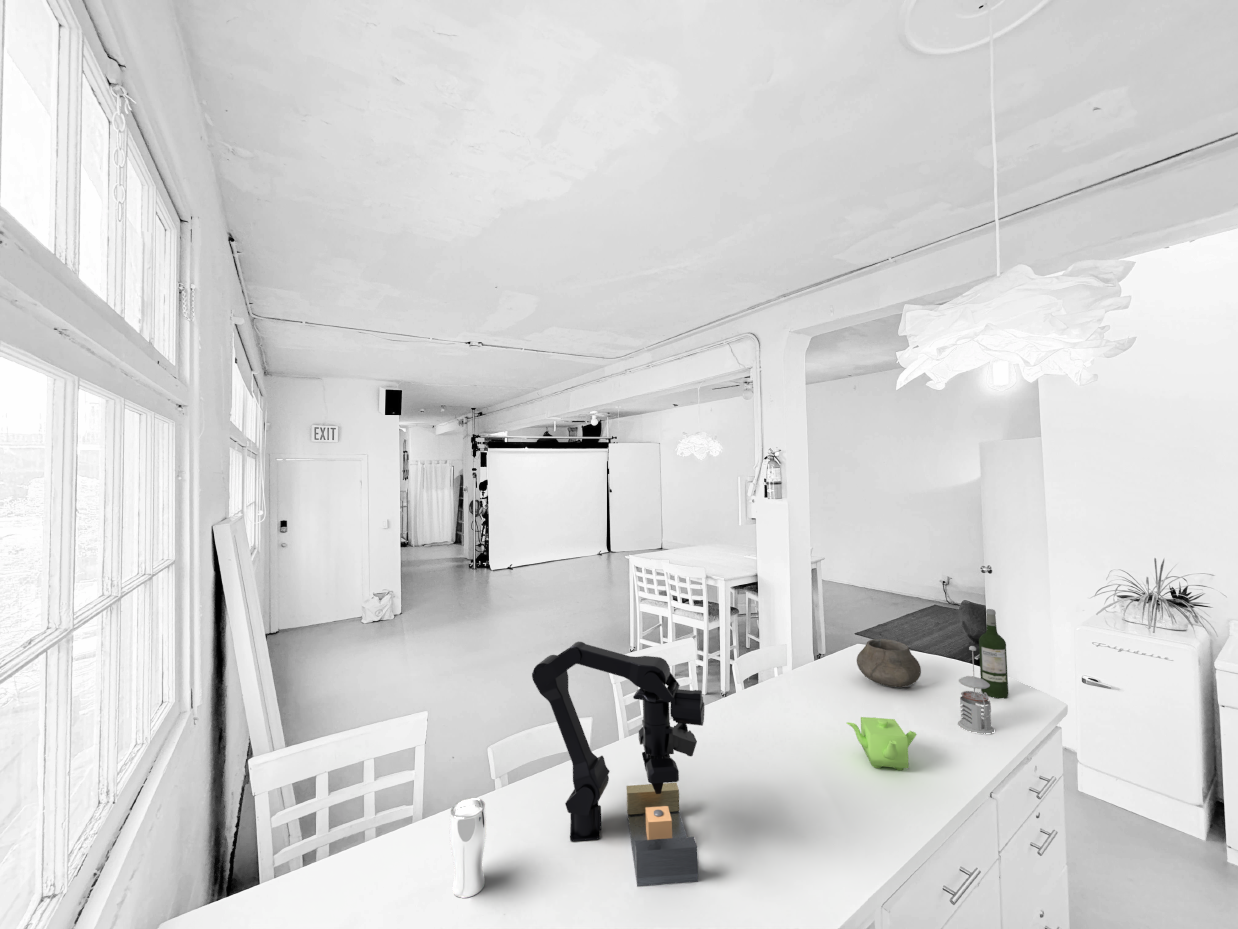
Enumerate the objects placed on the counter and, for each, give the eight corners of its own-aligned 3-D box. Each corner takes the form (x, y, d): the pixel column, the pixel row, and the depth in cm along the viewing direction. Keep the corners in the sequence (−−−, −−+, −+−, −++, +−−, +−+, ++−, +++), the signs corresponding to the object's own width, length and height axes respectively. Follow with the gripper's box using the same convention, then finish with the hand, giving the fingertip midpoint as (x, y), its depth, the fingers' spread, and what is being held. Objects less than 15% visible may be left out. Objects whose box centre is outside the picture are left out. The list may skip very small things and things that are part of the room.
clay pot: (922, 679, 200) (921, 640, 200) (920, 699, 182) (918, 656, 182) (861, 669, 211) (859, 633, 212) (853, 687, 193) (852, 647, 194)
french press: (983, 720, 165) (979, 641, 166) (1006, 738, 154) (1002, 653, 155) (951, 719, 166) (947, 641, 167) (971, 737, 155) (968, 652, 156)
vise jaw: (628, 814, 119) (627, 793, 119) (626, 806, 122) (626, 785, 122) (679, 811, 120) (678, 790, 120) (677, 803, 123) (676, 782, 123)
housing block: (648, 846, 109) (648, 820, 109) (645, 830, 114) (645, 806, 114) (672, 844, 109) (671, 819, 109) (668, 829, 114) (667, 804, 114)
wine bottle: (986, 697, 182) (982, 612, 183) (977, 689, 190) (974, 606, 191) (1012, 700, 180) (1008, 613, 181) (1003, 691, 188) (999, 607, 189)
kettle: (896, 783, 132) (894, 739, 133) (845, 760, 144) (843, 719, 144) (924, 764, 141) (922, 722, 141) (873, 743, 152) (871, 704, 153)
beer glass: (490, 871, 105) (489, 796, 105) (482, 899, 98) (481, 818, 98) (455, 873, 105) (455, 797, 105) (445, 901, 98) (444, 819, 98)
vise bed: (637, 886, 100) (636, 851, 100) (627, 814, 122) (626, 785, 122) (698, 881, 101) (697, 847, 101) (677, 810, 123) (676, 782, 123)
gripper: (702, 738, 104) (704, 818, 103) (684, 699, 122) (686, 767, 122) (647, 741, 103) (649, 821, 102) (637, 702, 122) (639, 770, 121)
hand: (658, 792), depth 112 cm, fingers closed
